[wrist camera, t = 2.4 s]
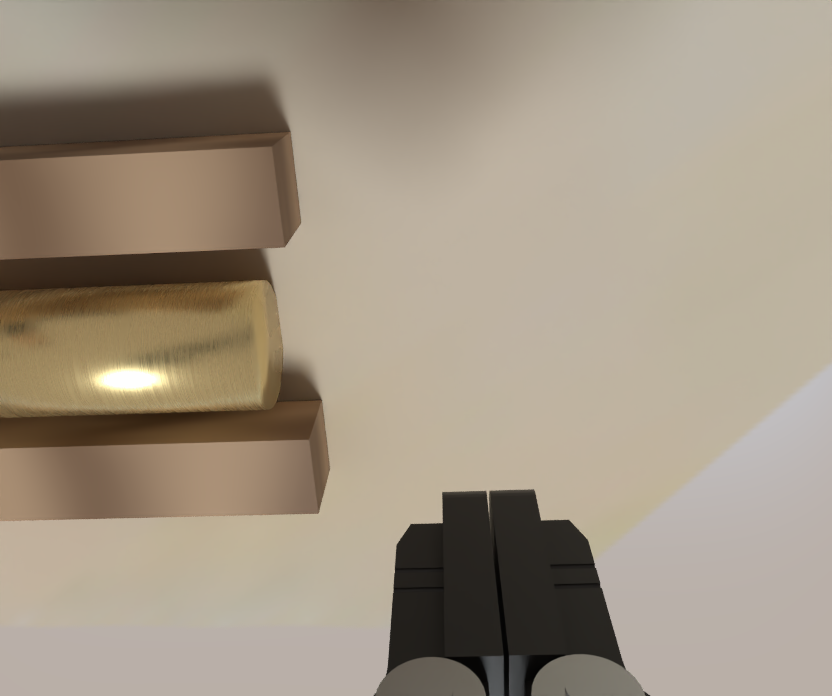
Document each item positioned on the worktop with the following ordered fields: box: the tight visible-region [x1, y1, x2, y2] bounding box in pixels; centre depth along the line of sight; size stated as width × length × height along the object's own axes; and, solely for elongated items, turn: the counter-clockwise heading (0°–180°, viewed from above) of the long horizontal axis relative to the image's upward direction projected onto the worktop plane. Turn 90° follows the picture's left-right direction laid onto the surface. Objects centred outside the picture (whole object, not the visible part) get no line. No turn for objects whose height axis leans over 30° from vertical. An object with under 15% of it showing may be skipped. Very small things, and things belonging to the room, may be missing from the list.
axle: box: [0, 280, 283, 418], centre depth 22 cm, size 10×4×4 cm, turn 93°
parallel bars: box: [0, 132, 330, 521], centre depth 22 cm, size 12×11×2 cm
